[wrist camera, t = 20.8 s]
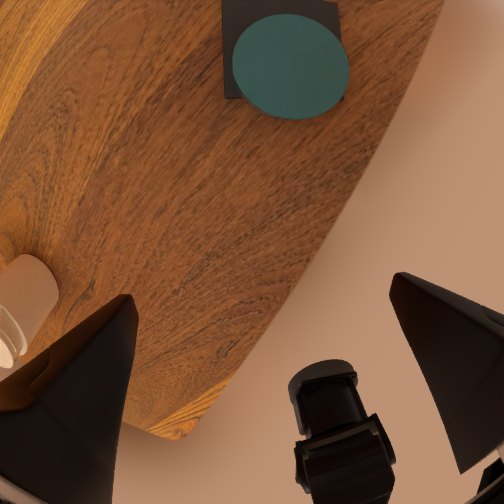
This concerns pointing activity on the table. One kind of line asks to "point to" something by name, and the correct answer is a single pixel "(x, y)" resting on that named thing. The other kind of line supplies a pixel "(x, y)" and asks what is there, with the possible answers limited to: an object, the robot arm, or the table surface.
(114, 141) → the table surface
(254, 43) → the jar lid
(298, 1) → the mat
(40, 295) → the jar
